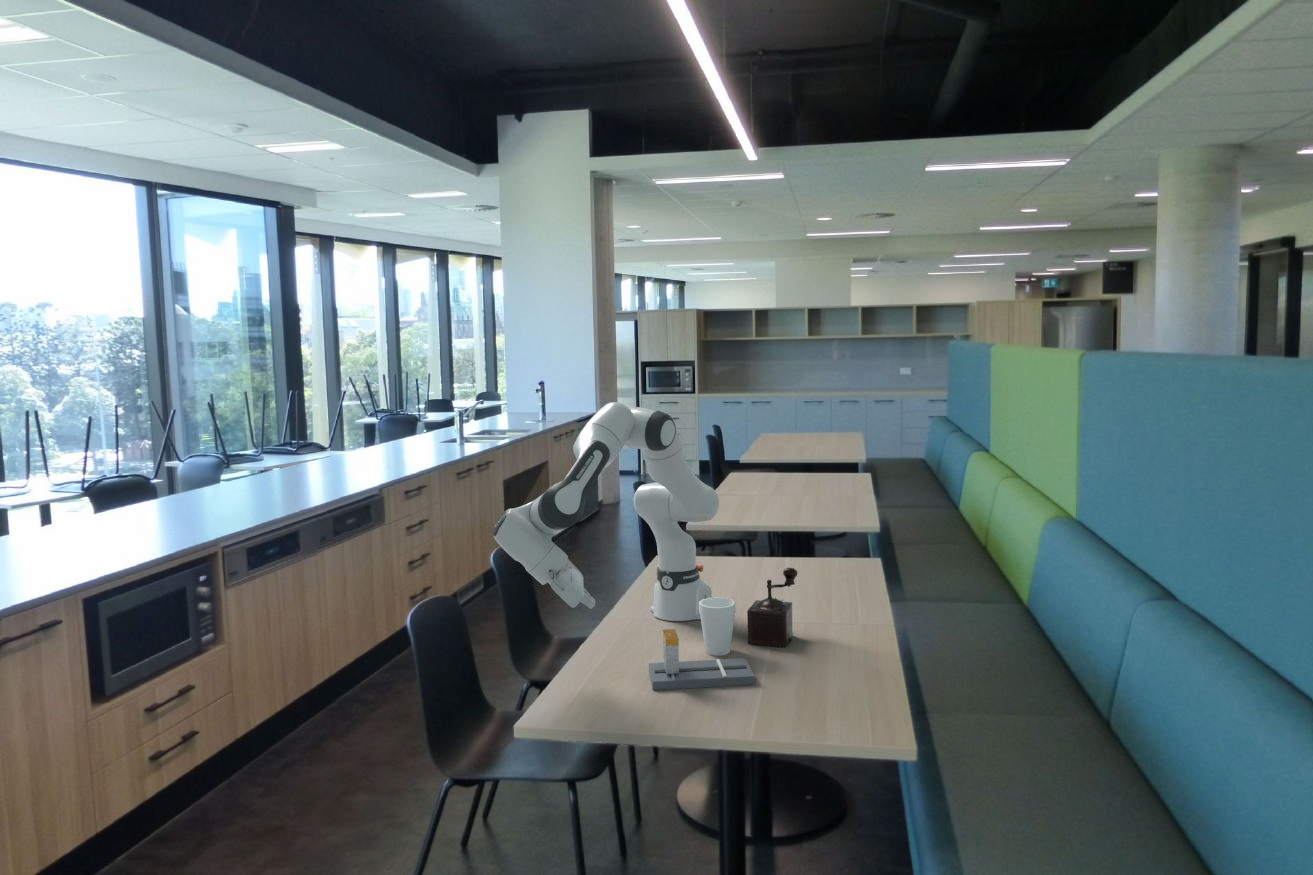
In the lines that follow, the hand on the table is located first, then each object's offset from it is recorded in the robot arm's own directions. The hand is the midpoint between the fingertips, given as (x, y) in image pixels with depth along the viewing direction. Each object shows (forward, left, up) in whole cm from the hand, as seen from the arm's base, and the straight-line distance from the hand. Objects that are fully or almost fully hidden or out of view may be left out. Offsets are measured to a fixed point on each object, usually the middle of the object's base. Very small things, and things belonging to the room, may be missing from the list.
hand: (593, 605), depth 212 cm
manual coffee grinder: (-50, +23, -19) cm, 58 cm away
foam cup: (-33, +15, -19) cm, 41 cm away
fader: (-11, +14, -17) cm, 24 cm away
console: (-15, +20, -19) cm, 32 cm away
